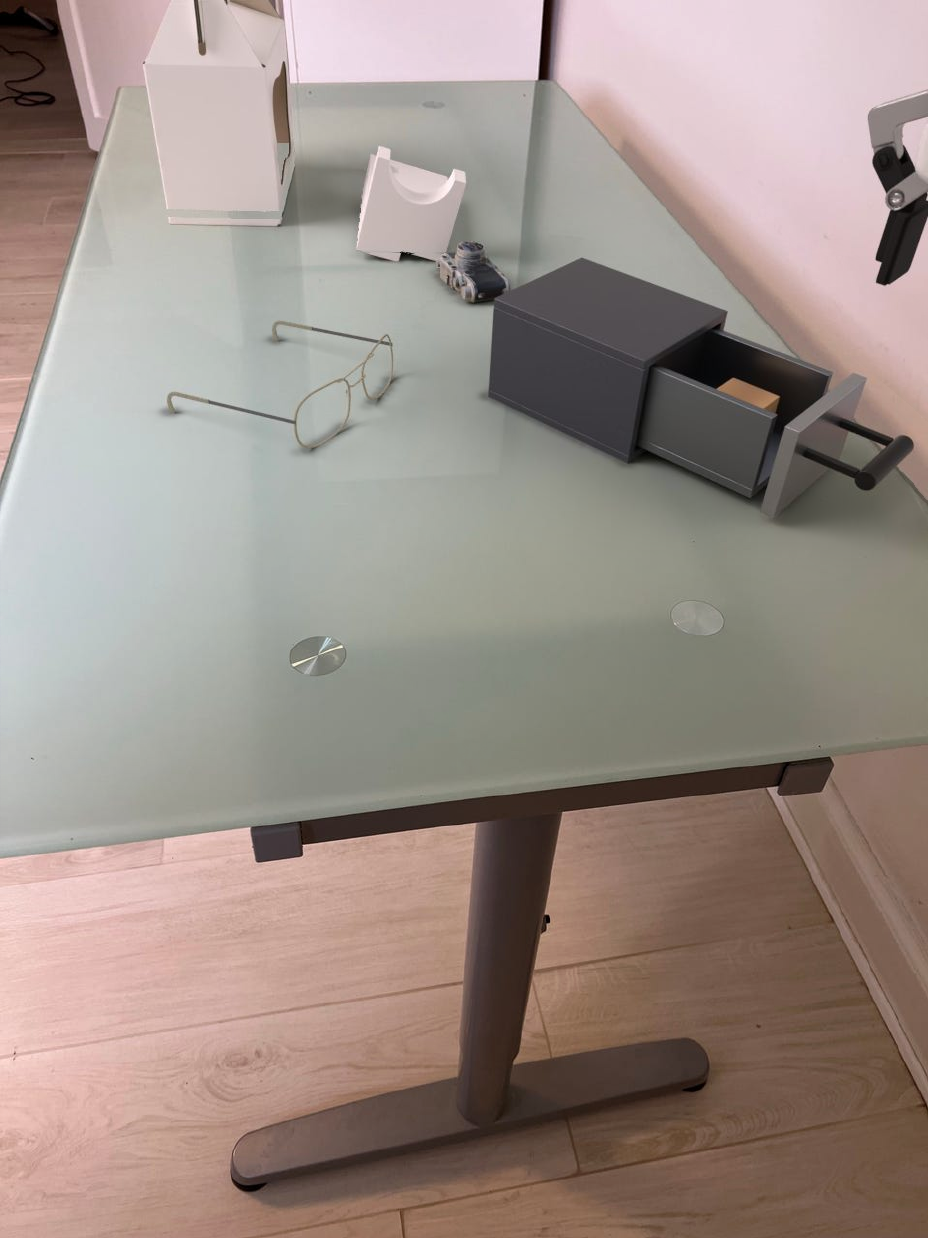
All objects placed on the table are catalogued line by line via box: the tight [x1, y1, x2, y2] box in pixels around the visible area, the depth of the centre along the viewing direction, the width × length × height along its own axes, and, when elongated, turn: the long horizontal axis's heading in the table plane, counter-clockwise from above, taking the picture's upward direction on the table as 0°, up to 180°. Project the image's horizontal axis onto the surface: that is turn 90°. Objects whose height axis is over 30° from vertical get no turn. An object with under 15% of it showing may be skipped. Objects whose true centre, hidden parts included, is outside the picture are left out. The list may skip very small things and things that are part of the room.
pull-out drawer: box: [635, 327, 915, 519], centre depth 80 cm, size 20×11×8 cm, turn 48°
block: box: [717, 378, 780, 413], centre depth 81 cm, size 4×4×4 cm
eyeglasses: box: [166, 320, 394, 449], centre depth 88 cm, size 16×15×5 cm
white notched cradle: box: [355, 145, 467, 262], centre depth 116 cm, size 18×10×10 cm, turn 2°
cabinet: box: [488, 257, 728, 464], centre depth 88 cm, size 16×13×10 cm
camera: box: [435, 240, 511, 303], centre depth 107 cm, size 5×10×4 cm, turn 22°
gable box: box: [142, 0, 295, 227], centre depth 117 cm, size 22×13×28 cm, turn 2°
